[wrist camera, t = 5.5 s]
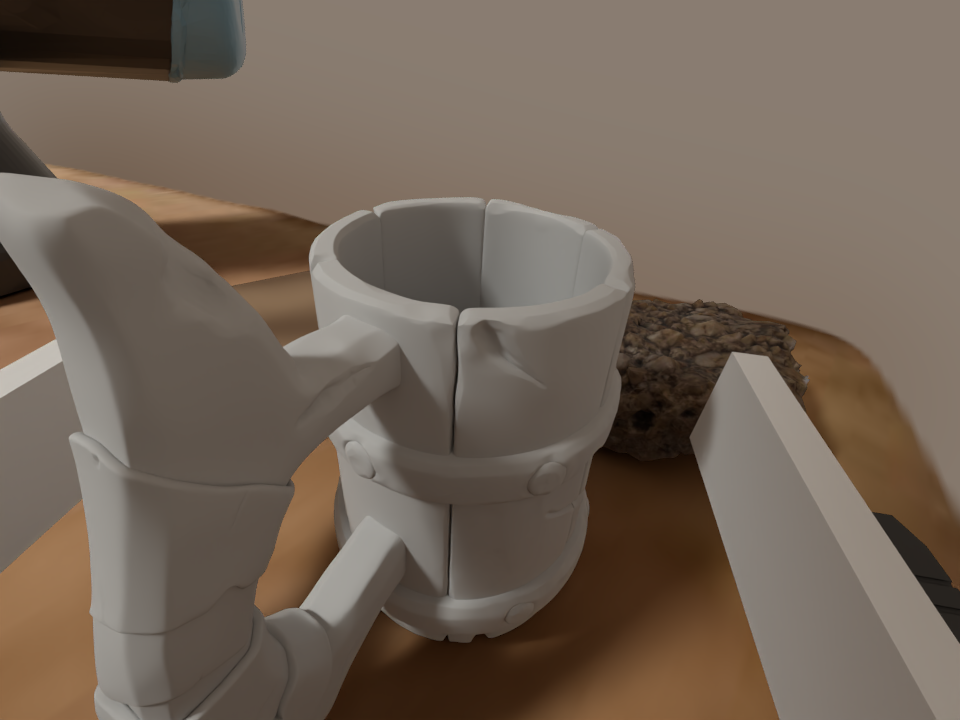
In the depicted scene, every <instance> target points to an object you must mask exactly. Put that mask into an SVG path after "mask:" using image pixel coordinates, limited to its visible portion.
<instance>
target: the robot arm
mask: <svg viewBox="0 0 960 720" xmlns="http://www.w3.org/2000/svg"><path fill="white" fill-rule="evenodd" d="M245 55H246V39H245V23H244V13H243V2H242V0H0V71H7V72H8V71H9V72H24V73H42V74H58V75H75V76H93V77H109V78H126V79H142V80H159V81H169V82H172V83H178V82H180V81H181V80H182V79H223V78H227V77H229V76H231V75H233V74H235V73H236V72H237V71H238V70H239V69H240V68H241V67H242V65H243V63H244V60H245ZM0 173H13V174H22V175H30V176H39V177H47V178H56V179H58V178H57V177H56V176H55V175H54V174H53V173H52V172H51V171H50V170H49V169H48V168H47V167H46V165H45V164H44V163H43V162H42V161H41V160H40V159H39V158H38V157H37V156H36V155H35V154H34V153H33V152H32V150H31V149H30V148H29V147H28V146H27V145H26V144H25V143H24V142H23V141H22V139H21V138H20V137H19V136H18V135H17V134H16V133H15V132H14V131H13V130H12V129H11V127H10V126H9V125H8V123H7V122H6V121H5V119H4V118H3V116H2V114H1V112H0ZM28 287H31V285H30V284H29V282H28V281H27V280H26V278H25V277H24V275H23V274H22V272H21V271H20V270H19V268H18V267H17V265H16V264H15V262H14V261H13V259H12V258H11V257H10V255H9V254H8V252H7V251H6V249H5V248H4V247H3V245H2V244H1V242H0V296H2V295H6V294H9V293H13V292H16V291H19V290H22V289H25V288H28ZM76 432H83V429H82V426H81V423H80V419H79V416H78V413H77V410H76V406H75V403H74V400H73V396H72V393H71V389H70V386H69V382H68V379H67V375H66V372H65V368H64V365H63V361H62V357H61V354H60V350H59V347H58V343H57V340H56V339H55V340H53V341H52V342H50V343H48V344H46V345H44V346H43V347H41V348H39V349H37V350H35V351H33V352H32V353H30V354H28V355H26V356H24V357H23V358H21V359H19V360H17V361H15V362H13V363H12V364H10V365H8V366H6V367H4V368H2V369H1V370H0V573H1V572H2V571H3V570H4V569H6V568H7V567H8V566H9V565H10V564H11V563H12V562H13V561H14V560H16V559H17V558H18V557H19V556H20V555H21V554H22V553H23V552H24V551H25V550H27V549H28V548H29V547H30V546H31V545H32V544H33V543H34V542H35V541H36V540H38V539H39V538H40V537H41V536H42V535H43V534H44V533H45V532H46V531H47V530H49V529H50V528H51V527H52V526H53V525H54V524H55V523H56V522H57V521H58V520H60V519H61V518H62V517H63V516H64V515H65V514H66V513H67V512H68V511H69V510H71V509H72V508H73V507H74V506H75V505H76V504H77V503H78V502H79V501H81V500H82V499H83V498H82V493H81V488H80V482H79V477H78V473H77V468H76V464H75V460H74V456H73V452H72V449H71V445H70V442H69V436H70V435H72V434H73V433H76ZM690 440H691V444H692V447H693V450H694V453H695V456H696V459H697V462H698V466H699V469H700V472H701V475H702V478H703V481H704V484H705V487H706V491H707V494H708V497H709V500H710V503H711V506H712V509H713V513H714V516H715V519H716V522H717V525H718V528H719V531H720V534H721V538H722V541H723V544H724V547H725V550H726V553H727V556H728V560H729V563H730V566H731V569H732V572H733V575H734V578H735V581H736V585H737V588H738V591H739V594H740V597H741V600H742V603H743V607H744V610H745V613H746V616H747V619H748V622H749V625H750V629H751V632H752V635H753V638H754V641H755V644H756V647H757V650H758V654H759V657H760V660H761V663H762V666H763V669H764V672H765V676H766V679H767V682H768V685H769V688H770V691H771V694H772V697H773V701H774V704H775V707H776V710H777V713H778V716H779V719H780V720H960V591H959V590H958V589H957V588H953V587H952V585H951V582H952V581H951V579H950V578H949V576H948V575H947V574H946V572H945V571H944V570H943V568H942V567H941V566H940V564H939V563H938V561H937V560H936V559H935V557H934V556H933V555H932V553H931V552H930V551H929V549H928V548H927V546H925V545H924V544H923V543H922V542H921V541H920V540H919V539H918V538H917V537H915V536H914V535H913V534H912V533H911V532H910V531H909V530H908V529H907V528H905V527H904V526H903V525H902V524H901V523H900V522H899V521H898V520H896V519H895V518H894V517H893V516H892V515H887V514H881V513H875V512H871V510H870V509H869V507H868V506H867V504H866V503H865V501H864V500H863V498H862V497H861V495H860V494H859V492H858V491H857V489H856V488H855V486H854V485H853V483H852V482H851V480H850V479H849V477H848V476H847V474H846V473H845V471H844V470H843V468H842V467H841V465H840V464H839V462H838V461H837V459H836V458H835V456H834V455H833V453H832V452H831V450H830V449H829V447H828V446H827V444H826V443H825V441H824V440H823V438H822V437H821V435H820V434H819V432H818V431H817V429H816V428H815V426H814V425H813V423H812V422H811V420H810V419H809V417H808V416H807V414H806V413H805V411H804V410H803V408H802V407H801V405H800V404H799V402H798V401H797V399H796V398H795V396H794V395H793V393H792V392H791V390H790V389H789V387H788V386H787V384H786V383H785V381H784V380H783V378H782V377H781V375H780V374H779V372H778V371H777V369H776V368H775V366H774V365H773V363H772V362H771V360H770V359H769V357H768V356H760V355H753V354H746V353H738V352H732V353H731V355H730V357H729V359H728V361H727V363H726V365H725V367H724V369H723V371H722V373H721V375H720V377H719V379H718V381H717V383H716V385H715V387H714V389H713V391H712V393H711V395H710V397H709V399H708V401H707V403H706V405H705V407H704V409H703V411H702V413H701V415H700V417H699V419H698V421H697V423H696V425H695V427H694V429H693V431H692V433H691V435H690Z"/></svg>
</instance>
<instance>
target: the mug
mask: <svg viewBox="0 0 960 720" xmlns="http://www.w3.org/2000/svg"><path fill="white" fill-rule="evenodd" d="M373 209H374V213H373V212H371V211H366V210H359V211H357V212H355V213H353V214H351V215H348V216H346V217H344V218H342V219H340V220H338V221H337V222H335V223H334V224H331V225H330V226H329V227H328V228H327V229H325V230H324V231H323V232H322V233H321V234H319V235H318V236H317V237H316V238H315V240H314V242H313V244H312V246H311V249H310V254H309V266H310V274H311V281H312V287H313V294H314V301H315V308H316V314H317V321H318V328H319V330H317V331H314V332H312V333H309V334H307V335H305V336H302V337H300V338H298V339H296V340H294V341H292V342H291V343H289V344H287V345H285V346H284V347H282V346H281V344H280V343H279V341H278V340H277V338H276V337H275V335H274V334H273V332H272V331H271V329H270V328H269V327H268V325H267V324H266V322H265V321H264V320H263V318H262V317H261V316H260V314H259V313H258V312H257V311H256V310H255V309H254V308H253V307H252V306H251V305H250V304H249V303H248V302H247V301H246V300H245V299H244V298H243V297H242V296H241V295H240V294H239V293H238V292H237V291H236V290H235V289H234V288H233V287H232V286H231V285H230V284H229V283H228V282H227V281H225V280H224V279H223V278H222V277H221V276H219V275H218V274H217V273H216V272H215V271H214V270H213V269H212V268H211V267H210V266H209V265H208V264H207V263H206V262H205V261H204V260H202V259H201V258H200V257H199V256H197V255H196V254H194V253H193V252H192V251H190V250H188V249H187V248H185V247H184V246H182V245H181V244H179V243H178V242H177V241H175V240H174V239H172V238H171V237H170V236H168V235H167V234H166V233H165V232H164V231H163V230H162V229H161V228H160V227H159V226H158V225H157V224H156V222H155V221H154V220H153V219H152V218H151V217H150V216H149V215H148V214H147V213H146V212H145V211H144V210H142V209H141V208H140V207H139V206H137V205H136V204H134V203H133V202H131V201H129V200H128V199H126V198H124V197H122V196H120V195H117V194H115V193H112V192H110V191H107V190H104V189H101V188H98V187H95V186H91V185H88V184H84V183H80V182H75V181H70V180H64V179H56V178H47V177H39V176H30V175H22V174H13V173H0V242H1V244H2V245H3V247H4V248H5V249H6V251H7V252H8V254H9V255H10V257H11V258H12V259H13V261H14V262H15V264H16V265H17V267H18V268H19V270H20V271H21V272H22V274H23V275H24V277H25V278H26V280H27V281H28V282H29V284H30V285H31V287H32V288H33V290H34V292H35V293H36V295H37V297H38V298H39V300H40V302H41V304H42V306H43V308H44V310H45V312H46V314H47V316H48V318H49V320H50V323H51V325H52V328H53V331H54V334H55V337H56V340H57V343H58V347H59V350H60V354H61V357H62V361H63V365H64V368H65V372H66V375H67V379H68V382H69V386H70V389H71V393H72V396H73V400H74V403H75V406H76V410H77V413H78V416H79V419H80V423H81V426H82V429H83V432H76V433H73V434H72V435H70V436H69V442H70V445H71V449H72V452H73V456H74V460H75V464H76V468H77V473H78V477H79V482H80V488H81V493H82V498H83V504H84V510H85V516H86V523H87V530H88V538H89V548H90V564H91V582H92V602H91V608H90V614H91V615H92V617H93V634H94V652H95V664H96V672H97V679H98V685H97V687H96V690H95V693H94V702H95V710H96V714H97V717H98V718H99V720H324V719H325V718H326V716H327V715H328V713H329V712H330V710H331V708H332V706H333V704H334V702H335V700H336V697H337V695H338V693H339V690H340V688H341V686H342V683H343V681H344V679H345V677H346V674H347V672H348V670H349V668H350V666H351V664H352V662H353V660H354V658H355V656H356V654H357V652H358V651H359V649H360V647H361V645H362V643H363V641H364V639H365V638H366V636H367V634H368V632H369V630H370V628H371V627H372V625H373V623H374V621H375V619H376V617H377V616H378V614H379V612H380V610H381V611H383V612H384V613H385V614H386V615H387V616H388V617H389V618H391V619H392V620H393V621H395V622H396V623H397V624H399V625H400V626H402V627H404V628H406V629H407V630H409V631H411V632H413V633H415V634H417V635H420V636H423V637H426V638H429V639H433V640H437V641H443V639H444V638H445V637H446V636H447V635H448V639H449V641H453V642H461V643H468V642H471V641H472V639H473V637H474V636H475V635H477V634H485V635H486V636H487V637H488V638H494V637H497V636H499V635H502V634H504V633H507V632H509V631H511V630H513V629H514V628H516V627H518V626H520V625H521V624H523V623H524V622H525V621H527V620H528V619H529V618H531V617H532V616H533V615H534V614H535V613H536V612H538V611H539V610H540V609H542V608H543V607H544V606H545V605H546V604H548V603H549V602H550V601H551V600H552V599H553V598H554V597H555V596H556V595H557V594H558V592H559V591H560V590H561V589H562V587H563V586H564V585H565V583H566V582H567V580H568V579H569V577H570V576H571V574H572V572H573V570H574V568H575V566H576V564H577V562H578V560H579V557H580V555H581V552H582V549H583V545H584V541H585V536H586V531H587V523H588V515H589V508H590V507H589V501H588V498H587V495H586V490H585V486H586V483H587V478H588V474H589V469H590V465H591V461H592V457H593V454H594V453H595V452H596V451H597V450H598V449H599V448H601V447H602V446H603V445H604V443H605V442H606V440H607V437H608V435H609V433H610V430H611V427H612V424H613V421H614V418H615V416H616V413H617V410H618V405H619V400H620V391H621V376H620V374H619V372H618V370H617V369H616V363H617V359H618V355H619V351H620V347H621V343H622V339H623V335H624V331H625V327H626V323H627V319H628V316H629V312H630V308H631V304H632V300H633V295H634V290H635V280H634V272H633V261H632V258H631V255H630V254H629V253H628V251H627V250H626V248H625V247H624V246H623V244H622V243H621V241H620V239H618V238H617V237H616V236H614V235H613V234H611V233H609V232H607V231H605V230H603V229H598V228H597V226H595V225H594V224H592V223H589V222H587V221H584V220H581V219H578V218H575V217H570V216H564V215H559V214H555V213H551V212H546V211H541V210H540V209H537V208H531V207H528V206H525V205H522V204H518V203H514V202H510V201H505V200H497V199H492V200H491V201H489V203H488V205H487V206H486V203H485V200H484V199H481V198H472V197H471V198H470V197H462V198H461V197H460V198H430V199H413V200H401V201H393V202H388V203H384V204H381V205H379V206H376V207H374V208H373ZM327 437H329V438H330V440H331V441H332V443H333V444H334V446H335V447H336V449H337V455H338V461H339V469H340V477H339V483H338V487H337V491H336V495H335V503H334V523H335V531H336V536H337V542H338V546H339V549H340V552H339V553H338V554H337V556H336V557H335V558H334V560H333V561H332V562H331V563H330V565H329V566H328V568H327V569H326V570H325V572H324V573H323V575H322V576H321V578H320V579H319V580H318V582H317V583H316V585H315V586H314V588H313V590H312V591H311V592H310V594H309V595H308V597H307V598H306V599H305V601H304V602H303V603H302V605H301V606H300V607H299V608H288V609H284V610H282V611H280V612H277V613H275V614H272V615H270V616H267V617H264V616H263V614H262V612H261V611H260V610H259V609H258V608H257V607H256V606H255V605H254V601H255V594H256V588H257V583H258V579H259V577H260V576H261V575H262V574H263V573H264V572H265V570H266V568H267V566H268V563H269V561H270V558H271V556H272V553H273V551H274V547H275V544H276V540H277V536H278V533H279V529H280V526H281V523H282V520H283V518H284V515H285V513H286V511H287V509H288V506H289V504H290V502H291V500H292V498H293V495H294V490H295V487H294V483H293V482H292V480H291V479H290V478H291V477H292V475H293V474H294V472H295V471H296V470H297V468H298V467H299V466H300V464H301V463H302V462H303V461H304V460H305V459H306V457H307V456H308V455H309V454H310V453H311V452H312V451H313V450H314V449H315V448H316V447H317V446H318V445H319V444H320V443H322V442H323V441H324V440H325V439H326V438H327Z"/></svg>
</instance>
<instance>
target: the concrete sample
mask: <svg viewBox="0 0 960 720" xmlns="http://www.w3.org/2000/svg"><path fill="white" fill-rule="evenodd" d="M788 334H789V330H788V329H787V328H786V327H785V325H781V324H777V323H773V322H769V321H752V320H751V319H747V318H743V316H742V313H741V312H740V311H739V310H738V309H736V308H735V307H732V306H730V305H728V304H726V303H719V304H716V303H714V302H706V303H703V301H702V300H700V299H699V300H697V301H696V302H695V303H693V304H688V303H680V304H668V303H665V302H662V301H660V300H658V299H655V300H654V301H653V302H652V301H650V300H633V301H632V304H631V308H630V312H629V316H628V319H627V323H626V327H625V331H624V335H623V339H622V343H621V347H620V351H619V355H618V359H617V363H616V369H617V370H618V372H619V374H620V376H621V391H620V400H619V405H618V410H617V413H616V416H615V418H614V421H613V424H612V427H611V430H610V433H609V435H608V437H607V440H606V442H605V443H604V445H603V446H604V447H606V448H608V449H610V450H613V451H615V452H618V453H628V454H629V455H631V456H633V457H634V458H636V459H638V460H640V461H648V460H655V459H661V458H672V457H676V456H677V455H679V454H680V453H682V454H684V455H688V454H695V453H694V450H693V447H692V444H691V440H690V435H691V433H692V431H693V429H694V427H695V425H696V423H697V421H698V419H699V417H700V415H701V413H702V411H703V409H704V407H705V405H706V403H707V401H708V399H709V397H710V395H711V393H712V391H713V389H714V387H715V385H716V383H717V381H718V379H719V377H720V375H721V373H722V371H723V369H724V367H725V365H726V363H727V361H728V359H729V357H730V355H731V353H732V352H738V353H746V354H753V355H760V356H768V357H769V359H770V360H771V362H772V363H773V365H774V366H775V368H776V369H777V371H778V372H779V374H780V375H781V377H782V378H783V380H784V381H785V383H786V384H787V386H788V387H789V389H790V390H791V392H792V393H793V395H794V396H795V398H796V399H797V401H798V402H799V404H800V405H801V407H802V408H803V410H804V411H805V413H806V410H805V406H804V403H803V400H802V396H803V395H804V393H805V391H806V389H807V383H808V381H809V379H807V378H808V376H805V377H804V376H803V375H801V374H800V373H799V371H800V370H799V368H800V367H801V366H802V365H800V364H798V363H797V362H796V361H795V359H794V358H793V356H792V355H791V351H792V350H793V349H794V347H795V344H796V340H794V339H793V338H791V337H790V336H788Z"/></svg>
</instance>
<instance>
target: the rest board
mask: <svg viewBox="0 0 960 720" xmlns="http://www.w3.org/2000/svg"><path fill="white" fill-rule="evenodd" d="M232 287H233V288H234V289H235V290H236V291H237V292H238V293H239V294H240V295H241V296H242V297H243V298H244V299H245V300H246V301H247V302H248V303H249V304H250V305H251V306H252V307H253V308H254V309H255V310H256V311H257V312H258V313H259V314H260V316H261V317H262V318H263V320H264V321H265V322H266V324H267V325H268V327H269V328H270V329H271V331H272V332H273V334H274V335H275V337H276V338H277V340H278V341H279V343H280V344H281V346H282V347H284V346H285V345H287V344H289V343H291V342H292V341H294V340H296V339H298V338H300V337H302V336H305V335H307V334H309V333H312V332H314V331H317V330H319V328H318V321H317V314H316V308H315V301H314V294H313V287H312V281H311V274H310V271H305V272H300V273H295V274H290V275H285V276H280V277H275V278H270V279H265V280H260V281H255V282H250V283H245V284H240V285H234V286H232Z"/></svg>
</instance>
